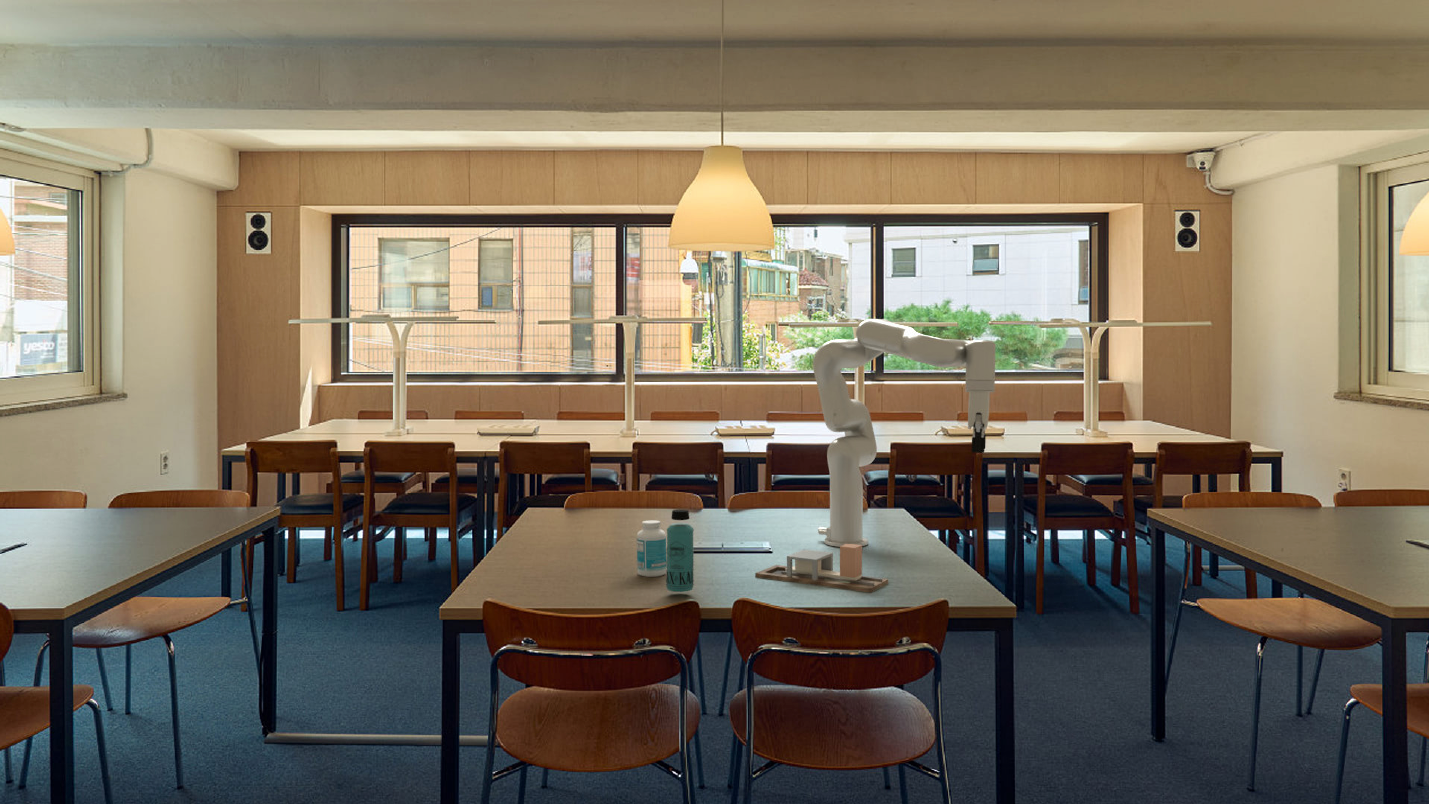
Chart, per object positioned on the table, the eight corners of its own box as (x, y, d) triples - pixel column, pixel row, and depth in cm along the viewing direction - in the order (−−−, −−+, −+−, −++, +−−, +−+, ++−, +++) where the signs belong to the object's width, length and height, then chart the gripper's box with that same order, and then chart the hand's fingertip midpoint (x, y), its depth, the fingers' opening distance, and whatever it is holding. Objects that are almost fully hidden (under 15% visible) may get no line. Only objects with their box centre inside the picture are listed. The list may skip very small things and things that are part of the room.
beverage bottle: (665, 592, 231) (665, 507, 230) (693, 591, 231) (693, 507, 230) (666, 598, 224) (666, 512, 223) (695, 598, 225) (695, 511, 224)
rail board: (755, 577, 246) (755, 570, 246) (776, 568, 255) (776, 562, 255) (870, 592, 230) (870, 586, 230) (888, 583, 239) (888, 576, 239)
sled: (784, 572, 245) (784, 540, 245) (792, 568, 249) (792, 537, 249) (854, 581, 235) (854, 548, 235) (862, 577, 239) (862, 545, 239)
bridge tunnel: (786, 576, 242) (786, 556, 242) (804, 569, 250) (804, 549, 250) (816, 580, 238) (816, 559, 238) (832, 572, 246) (832, 552, 246)
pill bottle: (670, 572, 252) (670, 520, 251) (659, 578, 245) (659, 524, 244) (643, 570, 254) (643, 518, 253) (632, 576, 247) (632, 523, 246)
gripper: (966, 385, 270) (965, 447, 271) (963, 387, 254) (962, 453, 255) (995, 385, 268) (993, 448, 269) (994, 388, 252) (992, 454, 253)
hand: (978, 450), depth 262 cm, fingers open, 9 cm apart
